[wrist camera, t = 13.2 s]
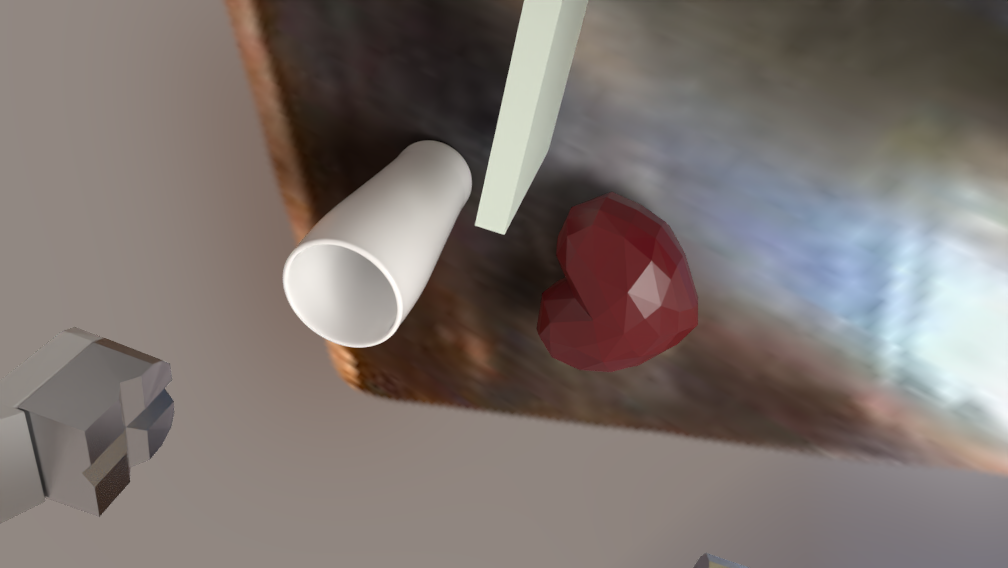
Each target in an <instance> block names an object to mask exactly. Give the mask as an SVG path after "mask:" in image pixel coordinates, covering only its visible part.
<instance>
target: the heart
mask: <svg viewBox="0 0 1008 568" xmlns="http://www.w3.org/2000/svg"><path fill="white" fill-rule="evenodd" d="M556 256H557V259H558V261H559V263H560V265H561V268H562V270H563V272H564V275H565V278H563V279H561V280H559V281H557V282H556V283H555V284H553V285H552V286H551V287H550V288H548V289H547V290H546V291H544V292H543V293H542V298H541V304H540V311H539V317H538V323H537V331H538V334H539V336H540V338H541V340H542V341H543V343H544V345H545V346H546V348H547V350H548V351H549V353H550V355H551V357H553V358H555V359H557V360H559V361H561V362H564V363H566V364H568V365H570V366H572V367H574V368H577V369H579V370H589V371H602V372H613V371H617V370H621V369H624V368H628V367H633V366H638V365H640V364H642V363H644V362H646V361H647V360H649V359H651V358H653V357H655V356H657V355H658V354H660V353H662V352H664V351H666V350H667V349H669V348H671V347H673V346H675V345H677V344H678V343H679V342H680V341H681V340H682V339H683V338H684V337H685V336H686V335H687V334H688V333H689V332H691V331H692V330H693V329H694V328H695V327H696V326H697V325H698V296H697V293H696V289H695V286H694V282H693V279H692V276H691V272H690V269H689V265H688V262H687V259H686V255H685V253H684V251H683V249H682V247H681V246H680V244H679V242H678V240H677V238H676V237H675V235H674V233H673V231H672V229H671V228H670V226H669V225H668V224H667V223H666V222H665V221H663V220H662V219H660V218H659V217H658V216H656V215H655V214H653V213H652V212H651V211H649V210H648V209H646V208H645V207H643V206H642V205H640V204H638V203H636V202H634V201H631V200H629V199H627V198H625V197H623V196H620V195H618V194H616V193H614V192H609V193H607V194H604V195H602V196H599V197H596V198H594V199H591V200H589V201H586V202H584V203H581V204H578V205H576V206H573V207H571V209H570V212H569V214H568V216H567V218H566V220H565V222H564V225H563V227H562V229H561V231H560V233H559V235H558V240H557V252H556Z"/></svg>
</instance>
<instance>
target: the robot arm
mask: <svg viewBox="0 0 1008 568" xmlns="http://www.w3.org/2000/svg"><path fill="white" fill-rule="evenodd" d="M171 381H172V374H171V366H170V363H167V362H165V361H163V360H160V359H158V358H155V357H153V356H150V355H147V354H145V353H142V352H140V351H137V350H134V349H132V348H129V347H127V346H124V345H122V344H119V343H116V342H114V341H111V340H109V339H106V338H103V337H100V336H98V335H95V334H92V333H90V332H87V331H84V330H81V329H79V328H76V327H73V328H70V329H67V330H64V331H62V332H60V333H59V334H58V335H57V336H55V337H54V338H53V339H51V340H50V341H49V342H48V343H46V344H45V345H44V346H43V347H42V348H40V349H39V350H38V351H36V352H35V353H34V354H33V355H31V356H30V357H29V358H28V359H26V360H25V361H24V362H23V363H21V364H20V365H19V366H18V367H17V368H15V369H14V370H13V371H11V372H10V373H9V374H8V375H6V376H5V377H4V378H3V379H1V380H0V523H3V522H5V521H7V520H9V519H11V518H13V517H15V516H17V515H19V514H21V513H23V512H25V511H27V510H29V509H31V508H33V507H35V506H37V505H39V504H41V503H43V502H45V498H47V499H50V500H53V501H56V502H59V503H61V504H64V505H67V506H70V507H73V508H76V509H79V510H81V511H84V512H87V513H90V514H93V515H96V516H99V517H100V515H102V513H103V512H104V511H105V510H106V509H107V508H108V507H109V505H110V504H111V503H112V502H113V501H114V500H115V498H116V497H117V496H118V495H119V494H120V493H121V492H122V491H123V490H124V489H125V487H126V486H127V485H128V484H129V483H130V467H133V466H135V465H137V464H140V463H143V462H145V461H148V460H150V459H151V458H152V456H153V455H154V454H155V453H156V452H157V451H158V449H159V448H160V447H161V446H162V444H163V442H164V440H165V438H166V436H167V434H168V433H169V430H170V429H171V426H172V422H173V417H174V401H173V400H172V398H171V397H170V395H169V394H168V393H167V391H166V390H165V387H166V386H167V385H168V384H169V383H170V382H171ZM693 568H749V567H745V566H743V565H740V564H737V563H734V562H731V561H728V560H725V559H722V558H719V557H716V556H713V555H710V554H708V553H705V554H703V555H702V556H700V558H699V559H698V561H697V562H696V564H695V565H694V567H693Z"/></svg>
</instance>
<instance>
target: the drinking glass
mask: <svg viewBox="0 0 1008 568" xmlns="http://www.w3.org/2000/svg"><path fill="white" fill-rule="evenodd" d="M471 189H472V177H471V172H470V169H469V167H468V165H467V163H466V161H465V160H464V158H463V157H462V156H461V155H460V154H459V153H458V152H457V151H456V150H455V149H453V148H452V147H450V146H449V145H447V144H444V143H442V142H438V141H433V140H424V141H419V142H416V143H413V144H411V145H409V146H408V147H407V148H405V149H404V150H403V151H402V152H401V153H400V154H399V155H398V156H397V157H396V159H394V160H393V161H392V162H391V163H389V164H388V165H387V166H386V167H385V168H383V169H382V170H381V171H380V172H378V173H377V174H376V175H375V176H373V177H372V178H371V179H369V180H368V181H367V182H366V183H364V184H363V185H362V186H361V187H359V188H358V189H357V190H355V191H354V192H353V193H352V194H350V195H349V196H348V197H346V198H345V199H344V200H343V201H341V202H340V203H339V204H338V205H336V206H335V207H334V208H333V209H332V210H331V211H329V212H328V213H327V214H326V215H325V216H324V217H323V218H322V219H321V220H320V221H319V222H318V223H317V224H316V225H315V226H314V227H313V228H312V229H311V230H310V231H309V232H308V233H307V235H306V236H305V237H304V238H303V239H302V240H301V242H300V243H299V244H298V245H297V246H296V248H295V249H294V250H293V251H292V252H291V254H290V255H289V256H288V258H287V260H286V262H285V266H284V269H283V287H284V291H285V295H286V297H287V300H288V302H289V304H290V305H291V307H292V309H293V311H294V312H295V313H296V315H297V316H298V317H299V319H300V320H301V321H302V322H303V323H304V324H305V325H306V326H307V327H309V328H310V329H311V330H312V331H314V332H315V333H317V334H318V335H320V336H321V337H323V338H325V339H327V340H329V341H331V342H334V343H337V344H340V345H343V346H348V347H370V346H374V345H377V344H380V343H382V342H384V341H386V340H387V339H388V338H390V337H391V336H392V335H393V334H394V333H395V331H396V330H397V329H398V327H399V326H400V325H401V323H402V322H403V321H404V319H405V318H406V317H407V315H408V314H409V312H410V311H411V309H412V308H413V306H414V305H415V303H416V302H417V300H418V298H419V297H420V295H421V293H422V292H423V290H424V288H425V286H426V284H427V282H428V280H429V278H430V276H431V274H432V272H433V270H434V268H435V265H436V263H437V261H438V259H439V257H440V254H441V252H442V250H443V248H444V246H445V243H446V241H447V239H448V237H449V235H450V233H451V230H452V228H453V226H454V224H455V222H456V220H457V218H458V216H459V214H460V212H461V210H462V208H463V207H464V205H465V204H466V202H467V200H468V198H469V196H470V193H471Z"/></svg>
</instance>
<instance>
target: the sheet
mask: <svg viewBox="0 0 1008 568" xmlns="http://www.w3.org/2000/svg"><path fill="white" fill-rule="evenodd" d="M587 4H588V0H524V4H523V8H522V13H521V17H520V22H519V26H518V31H517V36H516V40H515V45H514V49H513V54H512V58H511V63H510V68H509V72H508V77H507V81H506V86H505V90H504V95H503V99H502V104H501V109H500V113H499V118H498V122H497V127H496V131H495V136H494V141H493V145H492V150H491V154H490V159H489V163H488V168H487V173H486V177H485V182H484V186H483V191H482V195H481V200H480V205H479V209H478V214H477V218H476V223H475V226H478V227H481V228H485V229H488V230H491V231H494V232H497V233H500V234H503V235H505V233H506V231H507V229H508V227H509V225H510V223H511V221H512V219H513V217H514V215H515V214H516V212H517V210H518V208H519V206H520V204H521V202H522V200H523V198H524V196H525V194H526V193H527V191H528V189H529V187H530V185H531V183H532V181H533V179H534V177H535V175H536V173H537V172H538V170H539V168H540V166H541V164H542V162H543V160H544V158H545V156H546V154H547V152H548V150H549V146H550V142H551V139H552V135H553V131H554V127H555V124H556V120H557V116H558V112H559V109H560V105H561V101H562V98H563V94H564V90H565V86H566V83H567V79H568V75H569V71H570V68H571V64H572V60H573V56H574V53H575V49H576V45H577V41H578V38H579V34H580V30H581V27H582V23H583V19H584V15H585V12H586V8H587Z"/></svg>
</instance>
